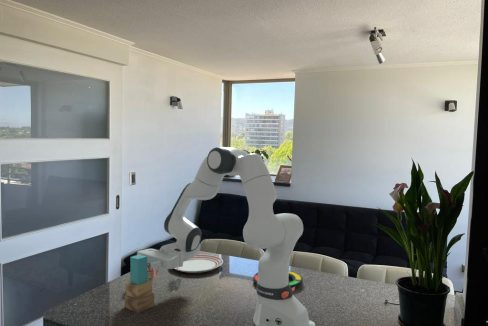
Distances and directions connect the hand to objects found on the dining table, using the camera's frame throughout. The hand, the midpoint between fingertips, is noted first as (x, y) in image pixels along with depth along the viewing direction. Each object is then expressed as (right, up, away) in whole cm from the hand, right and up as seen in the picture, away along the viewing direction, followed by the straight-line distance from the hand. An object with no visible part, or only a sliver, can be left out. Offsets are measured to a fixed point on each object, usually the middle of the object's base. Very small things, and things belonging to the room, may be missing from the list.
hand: (142, 263), depth 148 cm
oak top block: (-1, -12, 0) cm, 12 cm away
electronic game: (+56, -17, +26) cm, 64 cm away
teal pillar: (-1, -7, -1) cm, 7 cm away
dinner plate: (+16, -15, +47) cm, 52 cm away
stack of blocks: (-5, -16, +33) cm, 37 cm away
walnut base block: (-1, -17, 0) cm, 17 cm away
